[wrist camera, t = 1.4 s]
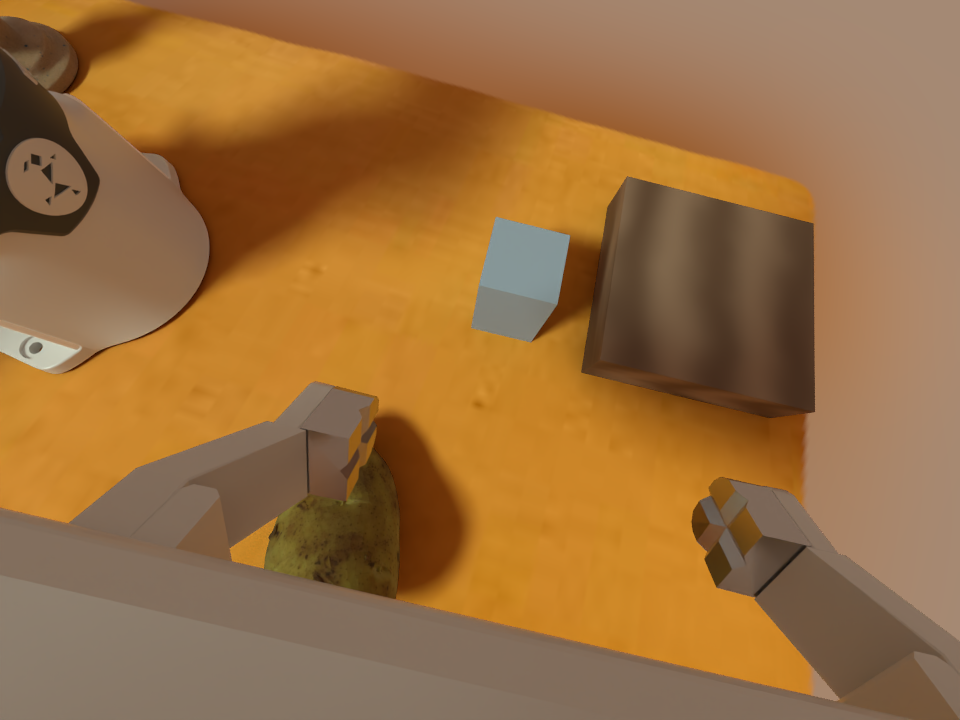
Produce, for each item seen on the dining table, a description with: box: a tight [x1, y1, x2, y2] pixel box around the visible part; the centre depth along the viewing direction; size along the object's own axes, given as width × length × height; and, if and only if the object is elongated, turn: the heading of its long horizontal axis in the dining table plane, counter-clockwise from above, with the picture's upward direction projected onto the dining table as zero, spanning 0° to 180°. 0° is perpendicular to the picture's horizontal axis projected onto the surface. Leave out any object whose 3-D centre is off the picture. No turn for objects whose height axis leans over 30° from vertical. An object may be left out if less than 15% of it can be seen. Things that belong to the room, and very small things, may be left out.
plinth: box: [581, 176, 815, 418], centre depth 32 cm, size 16×16×4 cm
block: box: [471, 217, 570, 342], centre depth 29 cm, size 5×5×8 cm
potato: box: [264, 448, 400, 599], centre depth 23 cm, size 8×13×8 cm, turn 167°
